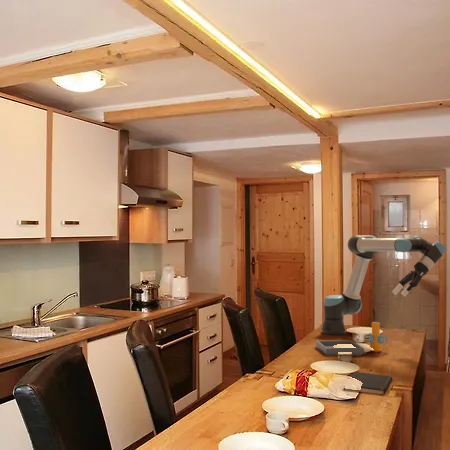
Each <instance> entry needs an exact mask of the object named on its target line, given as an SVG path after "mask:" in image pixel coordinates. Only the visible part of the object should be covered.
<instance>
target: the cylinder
mask: <svg viewBox="0 0 450 450" xmlns="http://www.w3.org/2000/svg"><path fill="white" fill-rule="evenodd" d="M380 323H381V322H378V321H372V322H371V332H369V333H367V334H365V335H364V337H363V340H364V341H365V342H366V343H369V348H370V347H371V348H373V349H374V351H373V352H375V353H378V352H382V345H383V344H384V343H386V342H387V341H388V336H387V335H386V334H381V333H380V332H381V331H380V330H381V329H380V328H381V327H380V326H381V325H380ZM367 339H368V340H367Z"/></svg>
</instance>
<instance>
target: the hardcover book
mask: <svg viewBox="0 0 450 450" xmlns="http://www.w3.org/2000/svg"><path fill="white" fill-rule="evenodd" d="M350 377H352V378H355V379H357V380H359V381H361V382H362V383H363V384H362V386H361V390H360V391H359V392H362V393H369V394H376V395H377V394H378V395H383V396H384V395H385V394H386V392H387V390H388V389H389V387H390V385H391V383H392V382H393V376H392V375H387V374H378V373H377V374H376V373H369V372H363V371H361V372H360V371H354V372H353V373H352V374H351V375H350Z"/></svg>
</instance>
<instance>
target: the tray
mask: <svg viewBox="0 0 450 450" xmlns="http://www.w3.org/2000/svg"><path fill="white" fill-rule="evenodd" d="M337 344H352V345H353V346H354V347H356V348H334V347H333V346H334V345H337ZM315 348H316V349H317V350H319V351H320V352H321V353H322V354H323V355H325V356H338V355H337V354H338V352H352V355H351V356H364V355H365V348H364V347H363V346H361V345H360V344H358V343H356V342H355V341H353V340H351V339H350V340H315Z"/></svg>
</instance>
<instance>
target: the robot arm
mask: <svg viewBox="0 0 450 450" xmlns="http://www.w3.org/2000/svg"><path fill="white" fill-rule="evenodd" d="M347 248H348V250H349V252H350V253H353V254H354V255H355V260H354V263H353V266H352V270H351V273H350V276H349V279H348V284H347V286H346V290H343V292H342V294H331V295H326V296H325V297H324V301H323V312H324V313H323V317H324V318H323V323H322V325H321V333H322V334H324V335H332V336H333V335H335V336H337V335H339V336H340V335H346V333H347V332H346V331H347V330H346V326H345V324H344V316H346V315H347V316H348V315H354V314H355V315H356V314H358V313H359V312H360V311H361V310H362V307H363V302H362V298H361V295H360V292H361V289H362V286H363V283H364V280H365V278H366V273H367V270H368V267H369V264H370V261H371V260H373V259H374V256H375V255H376V254H377V253H379V252H392V253H395V252H396V253H397V252H398V253H421V255H422V256H421V257H420V258H419V259H418V261H417V262H416V263H415V265H413V268H414V270H410V272H409V273H407V274H406V275H405V276H404V277H403V278H402V279H401V280H399V281H398V284H397V285H396V286H395V288H394V289H393V290H392V291H391V292H392V294H394V296H397V295H398V294H399V292H400V291H401V290H402V289H403V288H404V287H405V288H404V289H403V290H402V291H401V293H400V294H401V295H402V296H403V297H404V298H405V297H407V295H408V294H409V293H410V292H411V291H412V290H413V288H415V287H418V285H419V283H420V281H421V280H422V278H423V277H424V276H426V275H427V273H429V271H430V270H431V269H432V268H434V266H435V264H436V263H437V262H438V261H439V260H440V259H441V258H442V257H444V254H445V253H446V252H447V247H446V246H445V244H443V243H442V242H440V241H435V242H434V243H432V242H431V241H428V240H426V238H423V237H421V236H418V235H413V236H412V237H410V238H409V237H408V238H406V237H403V238H402V237H401V238H399V237H398V238H394V237H393V238H391V237H389V238H383V237H382V238H377V237H376V236H374V235H371V234H370V235H366V234H365V235H364V234H363V235H362V234H361V235H359V234H358V235H353V236H351V237H350V238H349V239H348V241H347ZM406 284H407V286H405V285H406Z"/></svg>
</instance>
